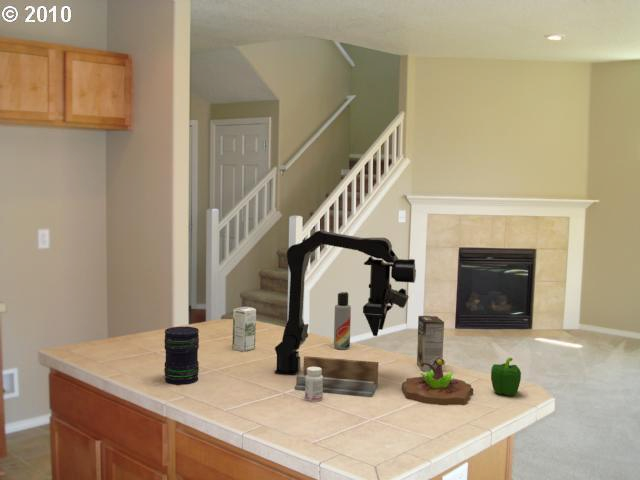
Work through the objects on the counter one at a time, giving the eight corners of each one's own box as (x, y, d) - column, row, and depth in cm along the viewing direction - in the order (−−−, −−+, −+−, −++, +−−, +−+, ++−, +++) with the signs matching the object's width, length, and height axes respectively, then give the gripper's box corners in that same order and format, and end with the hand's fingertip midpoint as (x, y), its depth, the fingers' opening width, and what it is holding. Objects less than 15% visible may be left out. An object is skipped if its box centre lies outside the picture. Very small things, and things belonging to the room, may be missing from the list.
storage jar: (205, 378, 203) (205, 328, 201) (185, 387, 194) (185, 335, 193) (177, 373, 207) (178, 325, 206) (157, 382, 198) (157, 331, 197)
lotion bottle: (348, 350, 240) (349, 293, 238) (332, 349, 241) (333, 292, 239) (350, 346, 246) (352, 291, 244) (335, 345, 247) (336, 290, 245)
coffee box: (416, 364, 224) (417, 315, 222) (435, 364, 224) (437, 315, 223) (422, 372, 215) (424, 321, 213) (442, 372, 215) (444, 321, 214)
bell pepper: (504, 399, 189) (506, 364, 188) (484, 391, 197) (486, 356, 196) (527, 395, 193) (529, 360, 192) (506, 387, 200) (508, 354, 200)
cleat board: (294, 389, 194) (295, 365, 193) (304, 379, 204) (305, 356, 204) (371, 397, 189) (372, 372, 188) (377, 385, 199) (378, 362, 199)
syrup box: (243, 346, 242) (243, 306, 241) (255, 349, 239) (256, 308, 237) (232, 349, 237) (232, 308, 236) (244, 352, 234) (245, 310, 233)
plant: (399, 403, 185) (400, 362, 184) (403, 382, 205) (404, 345, 204) (475, 409, 182) (476, 367, 181) (471, 387, 201) (473, 349, 200)
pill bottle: (324, 397, 188) (325, 367, 187) (319, 402, 183) (319, 371, 182) (308, 395, 189) (309, 365, 188) (302, 400, 185) (303, 369, 184)
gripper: (402, 287, 191) (400, 342, 192) (411, 278, 209) (409, 328, 210) (363, 284, 194) (361, 338, 195) (375, 275, 212) (373, 325, 213)
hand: (378, 332), depth 204 cm, fingers open, 9 cm apart
